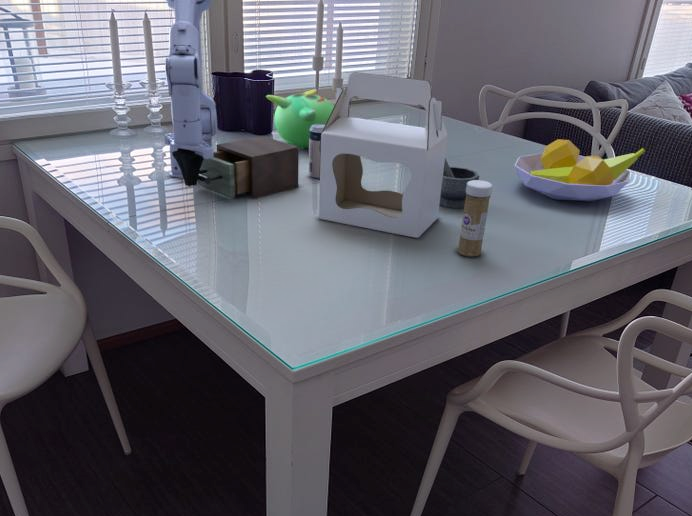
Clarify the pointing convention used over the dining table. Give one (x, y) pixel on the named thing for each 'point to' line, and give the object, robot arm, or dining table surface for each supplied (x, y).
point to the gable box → (382, 158)
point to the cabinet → (267, 163)
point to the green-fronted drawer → (225, 174)
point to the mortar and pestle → (455, 185)
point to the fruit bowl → (574, 172)
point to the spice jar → (315, 149)
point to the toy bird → (300, 115)
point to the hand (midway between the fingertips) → (191, 184)
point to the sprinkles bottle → (474, 217)
